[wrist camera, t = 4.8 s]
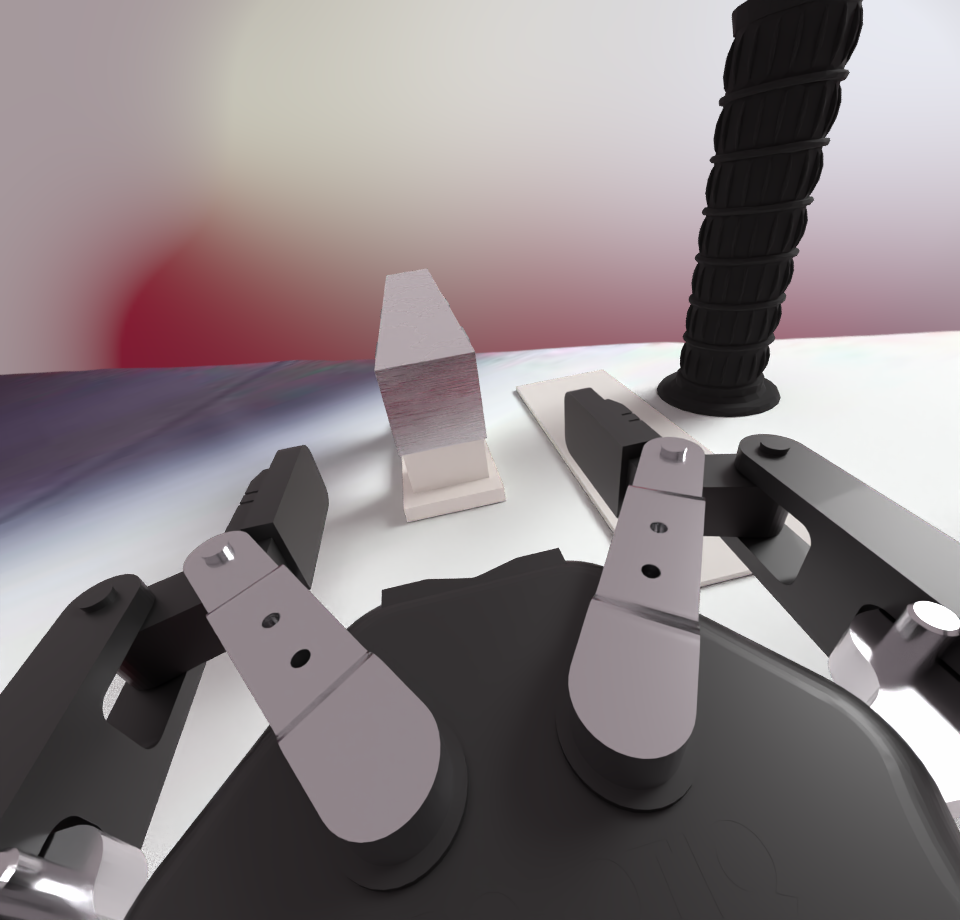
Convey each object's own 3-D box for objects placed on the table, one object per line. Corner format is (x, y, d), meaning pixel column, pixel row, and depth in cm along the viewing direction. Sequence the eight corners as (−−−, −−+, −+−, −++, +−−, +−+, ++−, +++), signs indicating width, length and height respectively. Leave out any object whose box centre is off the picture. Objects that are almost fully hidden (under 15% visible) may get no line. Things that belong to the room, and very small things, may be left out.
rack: (469, 407, 41) (451, 293, 35) (505, 500, 28) (487, 344, 22) (403, 420, 41) (373, 307, 35) (407, 522, 27) (359, 367, 21)
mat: (602, 372, 44) (602, 369, 44) (835, 553, 21) (838, 547, 21) (516, 390, 43) (515, 386, 43) (657, 597, 20) (658, 592, 20)
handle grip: (758, 428, 31) (794, 382, 37) (917, -112, 17) (939, -57, 22) (638, 400, 38) (683, 365, 43) (679, -8, 23) (739, 15, 29)
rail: (396, 317, 35) (386, 275, 34) (435, 310, 36) (427, 268, 34) (399, 456, 15) (374, 370, 13) (487, 438, 16) (475, 352, 14)
